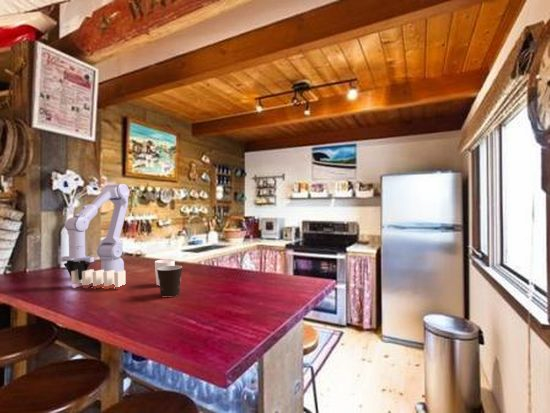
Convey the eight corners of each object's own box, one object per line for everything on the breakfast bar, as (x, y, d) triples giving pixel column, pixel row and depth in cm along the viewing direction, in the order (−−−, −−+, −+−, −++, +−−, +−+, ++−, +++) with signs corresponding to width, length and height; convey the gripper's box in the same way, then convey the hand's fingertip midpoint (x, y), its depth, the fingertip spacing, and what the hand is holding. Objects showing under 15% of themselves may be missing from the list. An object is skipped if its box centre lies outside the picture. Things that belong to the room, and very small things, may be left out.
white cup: (178, 282, 130) (177, 259, 130) (170, 287, 123) (169, 262, 123) (160, 282, 131) (160, 259, 131) (151, 287, 123) (151, 262, 123)
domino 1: (80, 285, 128) (80, 269, 128) (83, 285, 128) (83, 269, 128) (71, 288, 124) (71, 271, 124) (74, 288, 124) (74, 271, 124)
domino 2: (90, 286, 127) (90, 269, 127) (94, 286, 127) (93, 269, 127) (82, 288, 123) (81, 271, 123) (85, 288, 123) (85, 271, 123)
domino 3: (101, 286, 126) (100, 269, 126) (104, 286, 126) (104, 269, 126) (92, 289, 122) (92, 271, 122) (96, 289, 122) (95, 271, 122)
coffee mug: (178, 298, 107) (177, 270, 107) (153, 298, 107) (153, 270, 107) (188, 289, 119) (187, 263, 119) (166, 289, 119) (165, 264, 119)
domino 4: (111, 286, 125) (111, 269, 125) (115, 286, 125) (114, 269, 125) (103, 289, 121) (103, 272, 121) (107, 289, 121) (106, 272, 121)
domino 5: (122, 287, 124) (122, 270, 124) (125, 287, 124) (125, 270, 124) (114, 290, 120) (114, 272, 120) (118, 290, 120) (117, 272, 120)
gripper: (53, 247, 124) (54, 281, 124) (84, 247, 121) (84, 282, 121) (68, 245, 131) (69, 276, 131) (97, 245, 128) (98, 277, 128)
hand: (77, 279), depth 126 cm, fingers open, 3 cm apart
